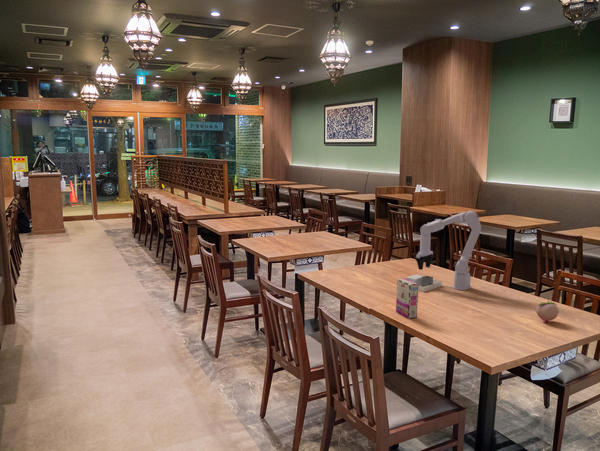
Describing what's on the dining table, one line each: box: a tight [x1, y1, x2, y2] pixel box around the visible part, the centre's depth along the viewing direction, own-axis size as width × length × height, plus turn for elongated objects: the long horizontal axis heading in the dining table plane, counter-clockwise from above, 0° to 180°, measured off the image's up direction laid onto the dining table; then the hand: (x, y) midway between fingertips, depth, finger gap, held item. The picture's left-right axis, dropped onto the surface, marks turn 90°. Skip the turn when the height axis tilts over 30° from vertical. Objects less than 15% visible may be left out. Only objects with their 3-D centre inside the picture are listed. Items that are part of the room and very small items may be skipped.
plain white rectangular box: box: [405, 274, 424, 286], centre depth 276 cm, size 10×6×5 cm, turn 133°
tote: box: [418, 279, 443, 293], centre depth 274 cm, size 18×16×3 cm
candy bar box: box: [395, 278, 419, 320], centre depth 226 cm, size 11×5×16 cm, turn 21°
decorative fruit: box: [535, 300, 559, 323], centre depth 218 cm, size 9×8×10 cm
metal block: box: [421, 275, 434, 287], centre depth 271 cm, size 4×4×6 cm
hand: (424, 268), depth 278 cm, fingers open, 7 cm apart
